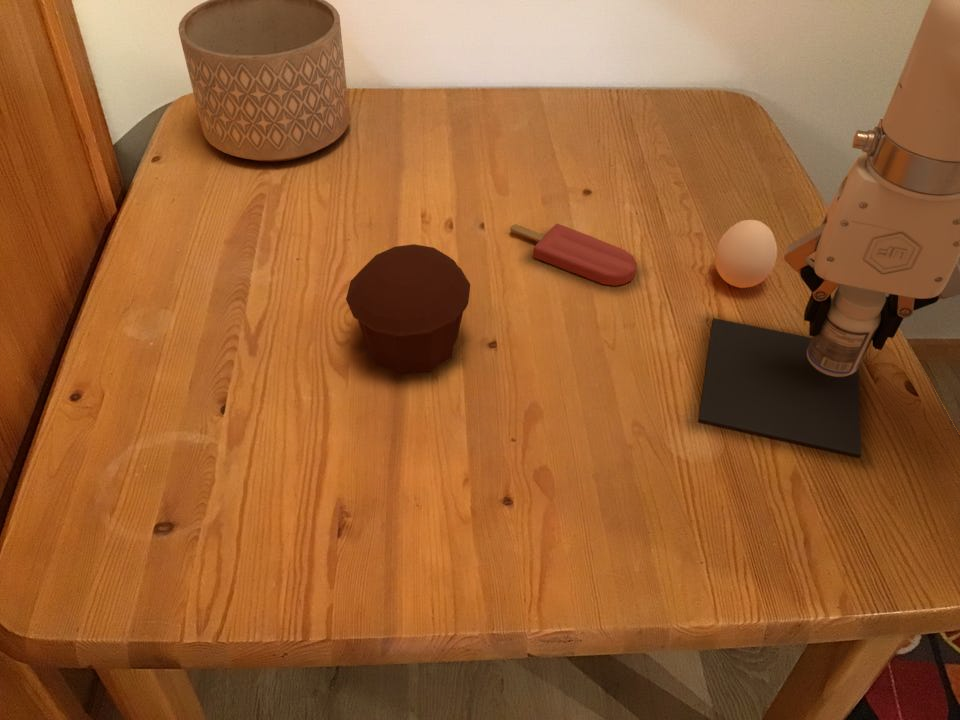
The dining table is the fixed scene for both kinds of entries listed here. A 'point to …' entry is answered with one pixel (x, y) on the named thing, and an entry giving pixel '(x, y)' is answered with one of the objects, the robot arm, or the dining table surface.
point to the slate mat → (777, 390)
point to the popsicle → (581, 254)
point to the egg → (746, 254)
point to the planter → (267, 76)
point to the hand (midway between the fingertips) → (845, 330)
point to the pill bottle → (846, 331)
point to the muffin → (409, 307)
